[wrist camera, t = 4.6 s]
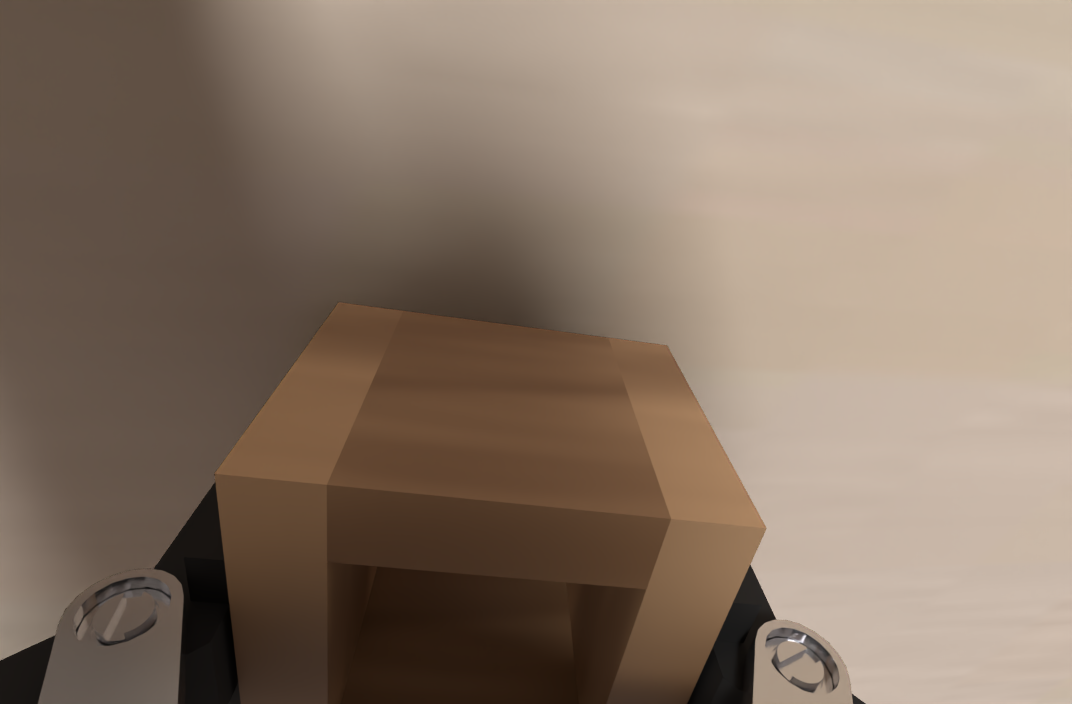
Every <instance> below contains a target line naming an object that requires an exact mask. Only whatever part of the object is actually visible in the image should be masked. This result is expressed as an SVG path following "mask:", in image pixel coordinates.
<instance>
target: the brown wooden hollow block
mask: <svg viewBox="0 0 1072 704" xmlns="http://www.w3.org/2000/svg"><path fill="white" fill-rule="evenodd" d="M214 475H215V483H216V492H217V501H218V509H219V518H220V527H221V536H222V544H223V553H224V562H225V570H226V579H227V588H228V597H229V605H230V614H231V623H232V631H233V640H234V649H235V658H236V666H237V675H238V684H239V692H240V701H241V704H687V703H688V701H689V698H690V696H691V694H692V692H693V690H694V687H695V685H696V683H697V681H698V679H699V676H700V674H701V672H702V670H703V667H704V665H705V663H706V661H707V659H708V656H709V654H710V652H711V650H712V648H713V645H714V643H715V641H716V639H717V637H718V634H719V632H720V630H721V628H722V626H723V623H724V621H725V619H726V617H727V614H728V612H729V610H730V608H731V606H732V603H733V601H734V599H735V597H736V595H737V592H738V590H739V588H740V586H741V584H742V581H743V579H744V577H745V575H746V573H747V570H748V568H749V566H750V564H751V562H752V559H753V557H754V555H755V553H756V550H757V548H758V546H759V544H760V542H761V539H762V537H763V535H764V533H765V531H766V526H765V525H764V523H763V521H762V519H761V517H760V515H759V514H758V512H757V510H756V508H755V506H754V504H753V503H752V501H751V499H750V497H749V495H748V493H747V492H746V490H745V488H744V486H743V484H742V482H741V480H740V479H739V477H738V475H737V473H736V471H735V469H734V468H733V466H732V464H731V462H730V460H729V458H728V457H727V455H726V453H725V451H724V449H723V447H722V446H721V444H720V442H719V440H718V438H717V436H716V435H715V433H714V431H713V429H712V427H711V425H710V423H709V422H708V420H707V418H706V416H705V414H704V412H703V411H702V409H701V407H700V405H699V403H698V401H697V400H696V398H695V396H694V394H693V392H692V390H691V389H690V387H689V385H688V383H687V381H686V379H685V378H684V376H683V374H682V372H681V370H680V368H679V366H678V365H677V363H676V361H675V359H674V357H673V355H672V354H671V352H670V350H669V348H668V346H667V345H659V344H652V343H644V342H637V341H629V340H621V339H614V338H606V337H599V336H591V335H583V334H576V333H568V332H561V331H553V330H545V329H538V328H530V327H523V326H515V325H507V324H500V323H492V322H485V321H477V320H470V319H462V318H454V317H447V316H439V315H432V314H424V313H416V312H409V311H401V310H394V309H386V308H378V307H371V306H363V305H356V304H348V303H340V302H338V304H337V305H336V307H335V308H334V309H333V311H332V312H331V313H330V315H329V316H328V318H327V319H326V320H325V322H324V323H323V324H322V326H321V327H320V329H319V330H318V331H317V333H316V334H315V336H314V337H313V338H312V340H311V341H310V342H309V344H308V345H307V347H306V348H305V349H304V351H303V352H302V353H301V355H300V356H299V358H298V359H297V360H296V362H295V363H294V365H293V366H292V367H291V369H290V370H289V371H288V373H287V374H286V376H285V377H284V378H283V380H282V381H281V382H280V384H279V385H278V387H277V388H276V389H275V391H274V392H273V394H272V395H271V396H270V398H269V399H268V400H267V402H266V403H265V405H264V406H263V407H262V409H261V410H260V411H259V413H258V414H257V416H256V417H255V418H254V420H253V421H252V422H251V424H250V425H249V427H248V428H247V429H246V431H245V432H244V434H243V435H242V436H241V438H240V439H239V440H238V442H237V443H236V445H235V446H234V447H233V449H232V450H231V451H230V453H229V454H228V456H227V457H226V458H225V460H224V461H223V463H222V464H221V465H220V467H219V468H218V469H217V471H216V472H215V474H214Z"/></svg>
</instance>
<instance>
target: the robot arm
mask: <svg viewBox="0 0 1072 704" xmlns="http://www.w3.org/2000/svg"><path fill="white" fill-rule="evenodd" d="M0 704H241V701H240V692H239V684H238V675H237V666H236V658H235V649H234V640H233V631H232V623H231V614H230V605H229V597H228V588H227V579H226V570H225V562H224V553H223V544H222V536H221V527H220V518H219V509H218V501H217V492H216V483H214V485H213V486H212V487H211V489H210V490H209V492H208V493H207V494H206V496H205V497H204V499H203V500H202V501H201V503H200V504H199V506H198V507H197V509H196V510H195V511H194V513H193V514H192V516H191V517H190V518H189V520H188V521H187V523H186V524H185V526H184V527H183V528H182V530H181V531H180V533H179V534H178V535H177V537H176V538H175V540H174V541H173V542H172V544H171V545H170V547H169V548H168V550H167V551H166V552H165V554H164V555H163V557H162V558H161V559H160V561H159V562H158V564H157V565H156V567H155V568H154V569H148V568H147V569H137V570H129V571H125V572H122V573H119V574H115V575H112V576H110V577H108V578H106V579H103V580H101V581H99V582H97V583H95V584H93V585H92V586H91V587H89V588H88V589H86V590H85V591H84V592H82V593H81V594H80V595H78V596H77V597H76V598H75V599H74V600H73V602H72V603H71V604H70V605H69V606H68V607H67V608H66V609H65V611H64V613H63V615H62V618H61V620H60V622H59V624H58V628H57V632H56V635H55V636H53V637H51V638H49V639H46V640H44V641H42V642H40V643H38V644H35V645H33V646H31V647H29V648H27V649H25V650H22V651H20V652H18V653H16V654H14V655H12V656H9V657H7V658H5V659H3V660H1V661H0ZM687 704H865V703H864V702H862V701H861V700H860V699H858V698H857V697H856V696H854V695H853V694H852V692H851V684H850V678H849V674H848V671H847V668H846V665H845V664H844V662H843V660H842V659H841V657H840V655H839V654H838V653H837V651H836V650H835V649H834V648H833V647H832V646H831V645H830V644H829V643H828V642H827V641H826V640H825V639H824V638H822V637H821V636H820V635H818V634H817V633H816V632H814V631H813V630H811V629H809V628H807V627H805V626H803V625H801V624H799V623H795V622H792V621H788V620H776V618H775V616H774V614H773V612H772V609H771V607H770V605H769V603H768V601H767V599H766V597H765V595H764V593H763V590H762V588H761V586H760V584H759V582H758V580H757V578H756V576H755V573H754V571H753V569H752V567H751V565H750V566H749V568H748V570H747V573H746V575H745V577H744V579H743V581H742V584H741V586H740V588H739V590H738V592H737V595H736V597H735V599H734V601H733V603H732V606H731V608H730V610H729V612H728V614H727V617H726V619H725V621H724V623H723V626H722V628H721V630H720V632H719V634H718V637H717V639H716V641H715V643H714V645H713V648H712V650H711V652H710V654H709V656H708V659H707V661H706V663H705V665H704V667H703V670H702V672H701V674H700V676H699V679H698V681H697V683H696V685H695V687H694V690H693V692H692V694H691V696H690V698H689V701H688V703H687Z"/></svg>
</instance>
